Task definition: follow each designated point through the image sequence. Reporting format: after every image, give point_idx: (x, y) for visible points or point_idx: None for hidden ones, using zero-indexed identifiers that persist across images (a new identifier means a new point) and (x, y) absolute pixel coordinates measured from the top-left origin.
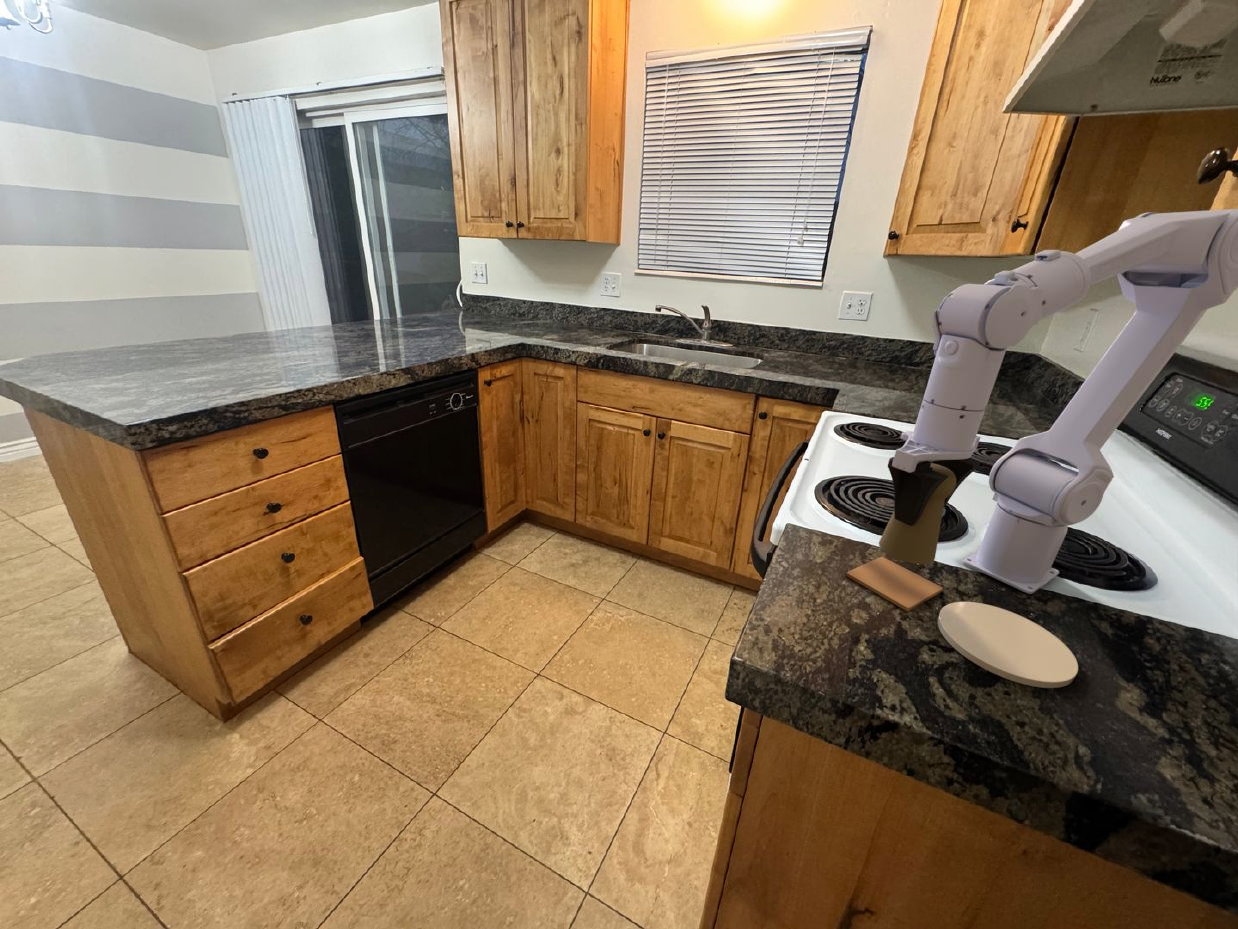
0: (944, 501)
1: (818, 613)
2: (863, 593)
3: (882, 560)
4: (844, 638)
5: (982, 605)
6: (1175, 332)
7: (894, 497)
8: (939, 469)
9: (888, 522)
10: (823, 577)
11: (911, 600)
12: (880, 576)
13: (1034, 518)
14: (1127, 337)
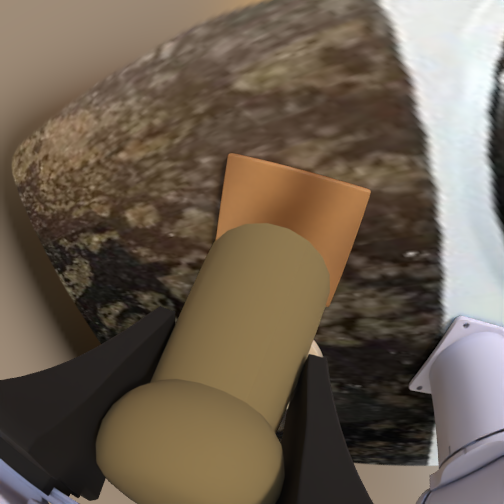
0: (283, 434)
1: (99, 171)
2: (203, 200)
3: (351, 198)
4: (91, 218)
5: (309, 353)
6: None
7: (110, 339)
8: None
9: (224, 267)
10: (188, 124)
11: None
12: (273, 212)
13: (441, 471)
14: None
